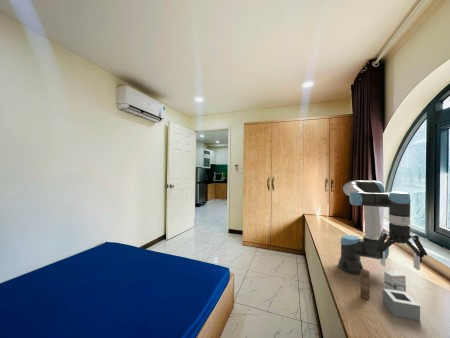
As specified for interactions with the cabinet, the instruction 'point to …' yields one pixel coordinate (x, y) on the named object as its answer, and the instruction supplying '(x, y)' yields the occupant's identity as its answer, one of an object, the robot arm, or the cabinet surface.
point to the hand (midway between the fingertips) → (399, 266)
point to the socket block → (401, 304)
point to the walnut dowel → (364, 284)
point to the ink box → (395, 281)
